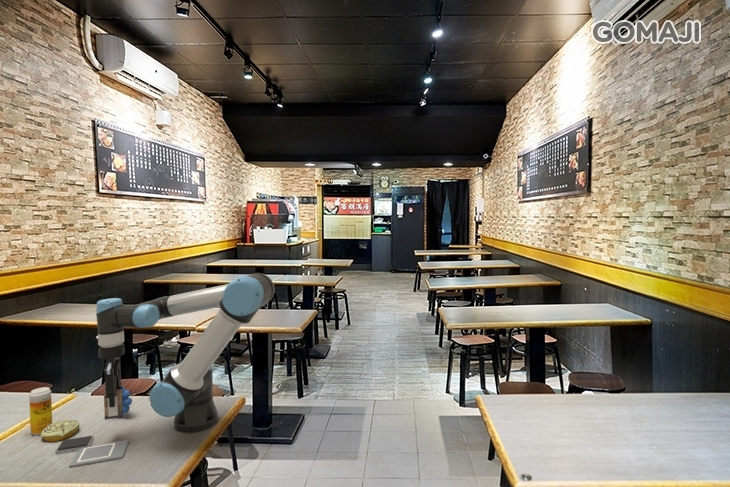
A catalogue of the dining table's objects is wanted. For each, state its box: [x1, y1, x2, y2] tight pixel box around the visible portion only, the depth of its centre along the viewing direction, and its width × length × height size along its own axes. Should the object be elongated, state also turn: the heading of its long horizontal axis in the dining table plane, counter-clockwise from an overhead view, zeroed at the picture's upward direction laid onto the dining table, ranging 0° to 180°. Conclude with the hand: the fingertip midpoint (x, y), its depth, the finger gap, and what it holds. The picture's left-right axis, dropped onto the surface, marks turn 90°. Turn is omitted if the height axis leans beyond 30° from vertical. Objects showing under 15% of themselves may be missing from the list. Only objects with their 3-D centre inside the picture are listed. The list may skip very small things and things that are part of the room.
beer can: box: [28, 386, 53, 436], centre depth 147 cm, size 6×6×15 cm
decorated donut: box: [40, 419, 80, 443], centre depth 145 cm, size 10×11×4 cm
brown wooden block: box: [103, 389, 123, 420], centre depth 141 cm, size 4×4×8 cm
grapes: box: [119, 386, 133, 417], centre depth 159 cm, size 12×7×12 cm, turn 75°
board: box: [68, 439, 130, 468], centre depth 132 cm, size 14×11×1 cm
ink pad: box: [54, 435, 95, 455], centre depth 137 cm, size 9×7×1 cm
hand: (114, 412), depth 141 cm, fingers closed on brown wooden block, 4 cm apart
